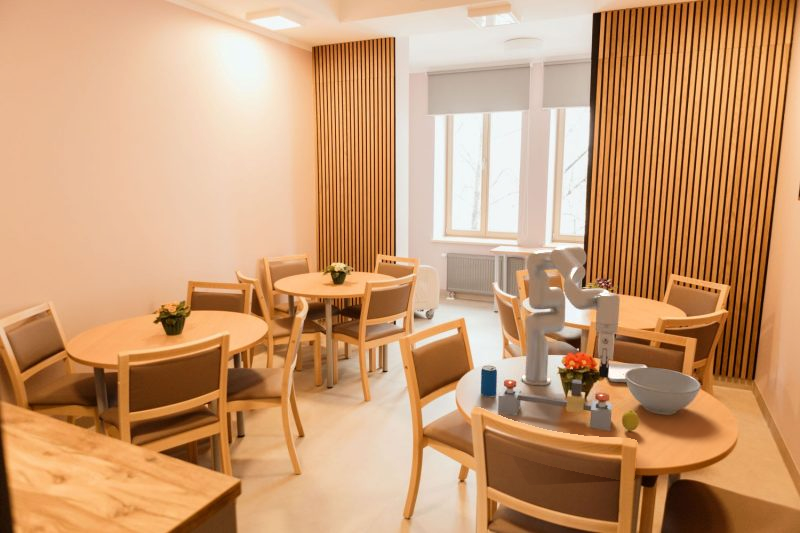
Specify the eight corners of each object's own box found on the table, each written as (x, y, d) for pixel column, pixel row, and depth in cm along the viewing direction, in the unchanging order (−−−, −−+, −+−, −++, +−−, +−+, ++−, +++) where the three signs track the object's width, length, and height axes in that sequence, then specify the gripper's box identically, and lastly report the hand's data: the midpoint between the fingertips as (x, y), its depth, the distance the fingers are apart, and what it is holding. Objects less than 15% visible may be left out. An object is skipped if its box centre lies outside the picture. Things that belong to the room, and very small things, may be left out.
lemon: (618, 428, 199) (620, 407, 198) (633, 427, 200) (634, 406, 198) (626, 435, 194) (627, 414, 192) (640, 434, 194) (642, 413, 193)
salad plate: (598, 368, 262) (598, 361, 261) (644, 370, 259) (644, 363, 258) (608, 385, 241) (609, 377, 240) (659, 387, 238) (659, 380, 238)
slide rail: (502, 403, 221) (503, 387, 219) (610, 420, 205) (612, 403, 204) (498, 412, 212) (498, 395, 211) (610, 431, 197) (611, 412, 196)
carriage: (567, 404, 209) (569, 377, 207) (584, 407, 207) (585, 379, 205) (566, 411, 203) (567, 383, 202) (583, 413, 201) (584, 385, 199)
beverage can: (496, 398, 226) (496, 371, 224) (480, 397, 227) (481, 369, 225) (496, 392, 232) (497, 365, 230) (481, 391, 233) (481, 364, 231)
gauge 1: (504, 396, 218) (505, 379, 216) (516, 398, 216) (517, 380, 215) (502, 401, 213) (502, 383, 212) (514, 403, 211) (515, 385, 210)
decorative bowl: (690, 399, 225) (692, 371, 223) (704, 427, 200) (707, 396, 198) (620, 391, 233) (622, 364, 231) (626, 417, 208) (628, 387, 206)
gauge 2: (594, 410, 205) (595, 391, 203) (608, 412, 203) (609, 393, 202) (593, 415, 200) (595, 396, 199) (607, 417, 199) (609, 398, 197)
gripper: (617, 334, 187) (613, 384, 190) (618, 322, 202) (615, 369, 205) (594, 331, 190) (591, 381, 193) (596, 320, 205) (594, 366, 208)
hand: (603, 374), depth 199 cm, fingers open, 3 cm apart
